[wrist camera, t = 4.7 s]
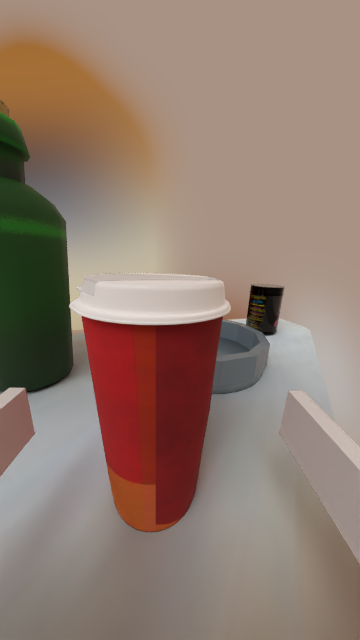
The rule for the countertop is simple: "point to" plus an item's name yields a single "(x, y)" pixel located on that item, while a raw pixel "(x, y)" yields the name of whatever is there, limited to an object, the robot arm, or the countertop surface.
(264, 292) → the supplement container
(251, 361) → the bowl
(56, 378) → the bottle
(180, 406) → the paper cup
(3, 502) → the countertop surface
